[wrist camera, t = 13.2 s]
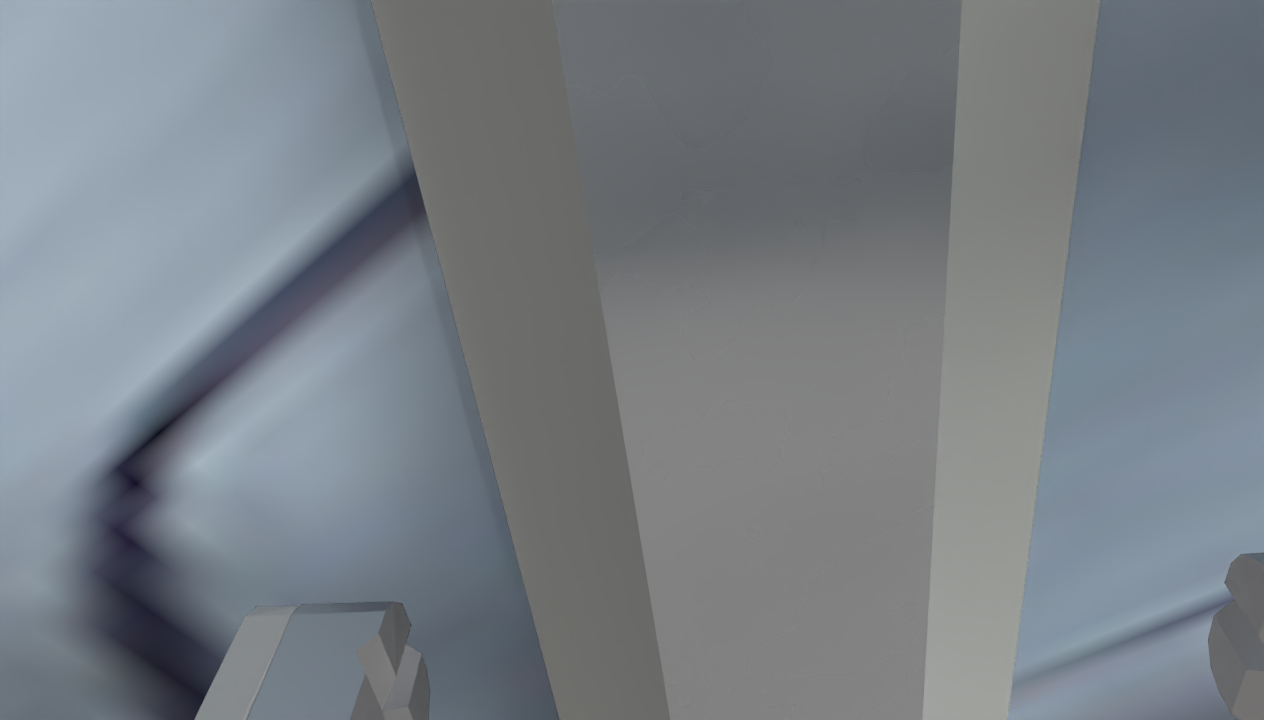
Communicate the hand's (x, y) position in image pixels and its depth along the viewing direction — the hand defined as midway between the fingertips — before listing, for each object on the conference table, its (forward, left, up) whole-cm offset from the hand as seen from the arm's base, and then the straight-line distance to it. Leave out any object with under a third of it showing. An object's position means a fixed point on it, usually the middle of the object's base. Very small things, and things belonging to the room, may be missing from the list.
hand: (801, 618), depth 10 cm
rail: (+1, 0, -7) cm, 7 cm away
